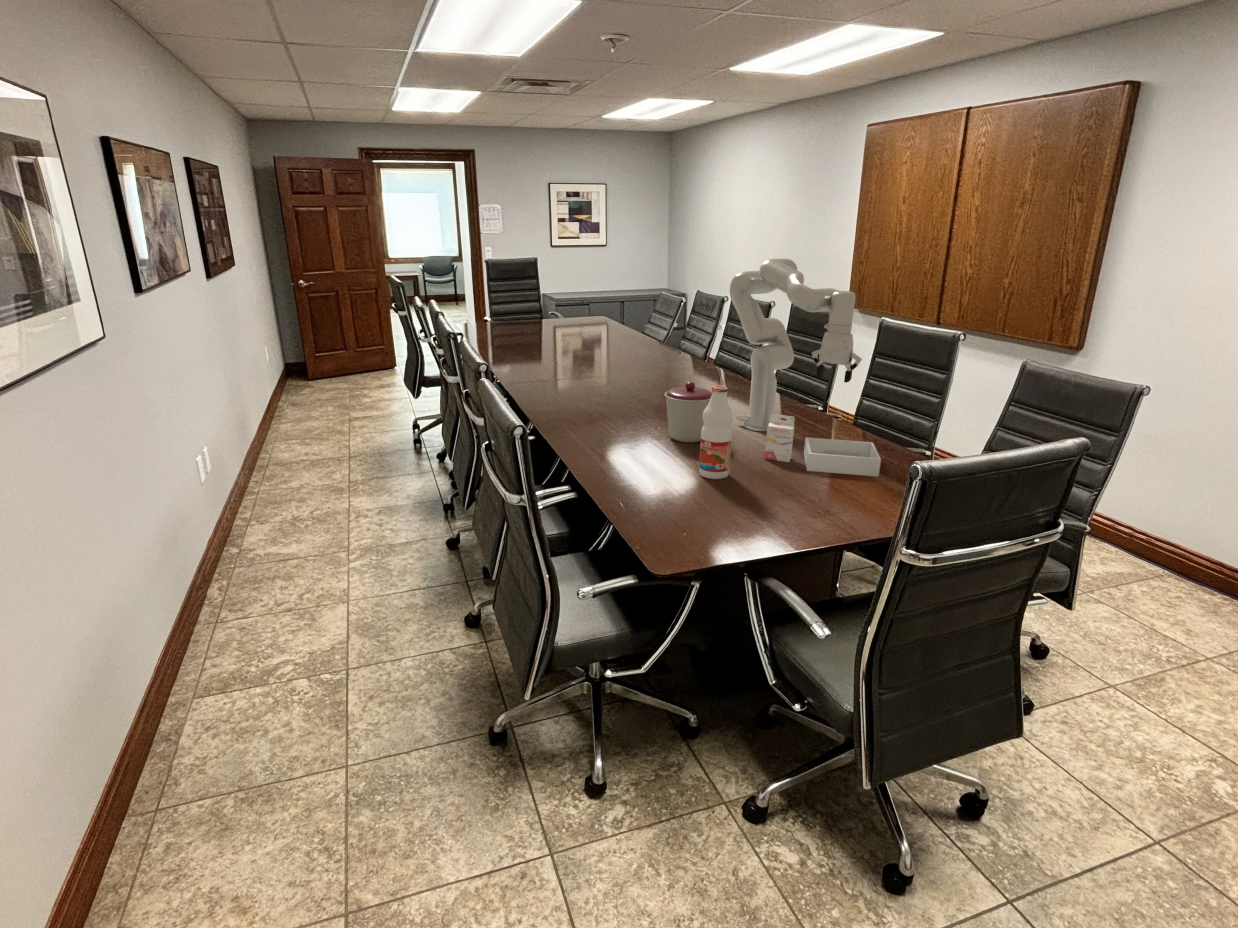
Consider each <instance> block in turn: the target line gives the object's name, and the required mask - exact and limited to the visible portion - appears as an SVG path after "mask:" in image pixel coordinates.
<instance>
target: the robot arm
mask: <svg viewBox="0 0 1238 928" xmlns="http://www.w3.org/2000/svg"><path fill="white" fill-rule="evenodd" d="M804 283H805V276H804V274H803V273H802V272H801V271H799V270H798V266H797V264H796V262H795V261H793V260H792V259H790V258H769V259H766V260H765V261H764V262H763V263H761V265H760V267H759V270H748V271H747V270H746V271H742V272H738V273H737V274H736V275H734V276H733V278H732V279H731V282H730V284H729V296H730V301H731V302H732V305H733V306H734V307H733V308H735V311H736V313H737V316H738V318H739V320H740V321H739V322H740V323H741V327H742V328H743V332H744V335H745V337H746V340H747V341H748V343H749V344H750V345H756V346H757V345H760V346H758V347H756V348H755V349H754V350H753V351H752V352H751V355H750V367H751V381H750V382H751V383H750V394H749V406H748V407H749V408H748V413H747V414H744V415H740V414H739V415H738V414H737V415H736V421H739V422H744V423H743V427H744V428H745V429H747V430H751V431H755V432H767V428H768V425H769V423H770V416H771V414H775V407H776V406H775V405H776V398H777V383H778V382H777V377H776V375H775V371H777V370H783V369H788V368H789V367H791V366H792V364H793V363H794V359H795V354H794V349H793V346H792V343H791V341H790V339H789V335H788V332H787V330H786V327H785V325H784V324H783V322H782V321H781V320H779V319H778V318H775V317H768V318H767V317H765V316H764V314H763V312H762V309H761V306H760V305H759V303H758V302H757V300H755V298H754V297H753V296H752V295H761V294H763V295H764V294H769V293H771V292H774V291H776V290H780V292H783V293H785V294H786V296H787V299H788V300H789V302H790V303H791V304H793V305H794V306H796V307H798V308H799V309H801V310H803V311H805V312H809V313H818V312H819V313H820V312H829V315H828V316H829V317H828V322H827V323H825V324H824V329H826V331H824V334H823V338H822V341H821V343H820V345H821V346H820V348H819V349H817V350H814V351H812V352H811V356H812V358H813V359H812V360H813V362H814V363H815V365H816V368H817V369H816V375H817V376H816V377H817V379H821V378H823V377H824V372H825V365H824V364H825V363H826V364H832V365H840V366H844V367H845V369H846V371H844V372H845V373H844V380H843V383H846V384H847V383H849V382H851V380H852V375H853V371H854V370H855V369H856V368H858V366H859V364H861V362H862V361H863V359H862V358H861V357H860V356H859V355H857V354H856V353H854V336H853V333H852V329H853V328H852V327H853V321H854V320H853V319H854V312H855V303H856V298H857V297H856V293H855V292H853V291H849V290H838V289H836V288H829V287H828V288H811V287H809V286H808V285H805V284H804ZM764 344H765V345H764ZM853 360H854V361H855V362H854V363H853V364H852V362H853Z"/></svg>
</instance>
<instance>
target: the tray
mask: <svg viewBox="0 0 1238 928" xmlns="http://www.w3.org/2000/svg"><path fill="white" fill-rule="evenodd" d="M804 438H805V440H804V446H803V447H804V448H803V457H804V463H805V469H806V471H807V472H817V473H820V472H821V473H830V474H844V475H855V476H866V477H879V475H880V468H881V464H882V463H881V462H882V458H881V456H880V454H879V452H878V450H877V448H876V446H875V444H874V442H872V441H861V440H859V441H858V440H846V439H835V438H834V439H833V438H832V439H831V438H819V437H818V438H817V437H807V436H805V437H804Z"/></svg>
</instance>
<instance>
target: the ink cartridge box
mask: <svg viewBox="0 0 1238 928" xmlns="http://www.w3.org/2000/svg"><path fill="white" fill-rule="evenodd" d="M795 417H796V416H792V415H784V414H775V413H774V414H771V416H770V423H769V425H768V428H767V431H766V436H765V437H766V438H765V444H764V445H765V447H764V455H763V459H764V460H769V461H777V462H785V463H790V462H791V461H790V460H791V457H792V452H793V450H792V449H793V441H794V434H795V421H796V420H795V419H796V418H795ZM783 419H784V420H783Z"/></svg>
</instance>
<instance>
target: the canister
mask: <svg viewBox="0 0 1238 928" xmlns="http://www.w3.org/2000/svg"><path fill="white" fill-rule="evenodd" d="M711 396H712V392H711V390H708V389H707V388H701V387H696V384H695V383H694V381H687V382H686V383H685V385H684V386H679V387H678V386H677V387H674V388H670V389H669V390H667V391H665V393H664V397H665V400H666V413H667V414H666V415H667V426H668V433H669V436H670V438H672V439H673V440H675V441H678V442H681V443H697V442H701V431H702V427H703V425H704V421H703V412H704V410H705V408H706V407H707V405H708V403H709V401H710V399H711Z"/></svg>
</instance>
